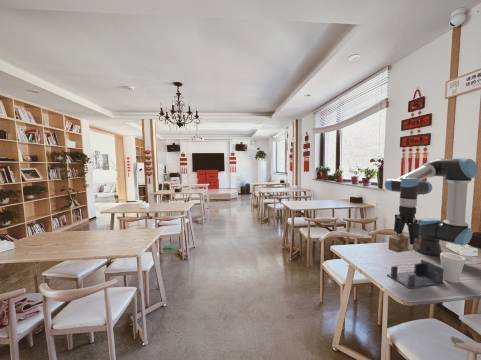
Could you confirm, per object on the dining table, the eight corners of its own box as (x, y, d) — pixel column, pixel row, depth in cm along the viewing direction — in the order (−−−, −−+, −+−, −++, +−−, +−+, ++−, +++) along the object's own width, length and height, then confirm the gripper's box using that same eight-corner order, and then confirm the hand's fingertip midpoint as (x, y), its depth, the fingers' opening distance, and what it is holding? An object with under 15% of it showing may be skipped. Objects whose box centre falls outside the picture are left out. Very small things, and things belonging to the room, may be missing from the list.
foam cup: (465, 286, 112) (467, 261, 111) (441, 281, 117) (442, 257, 116) (459, 278, 120) (461, 254, 119) (437, 273, 125) (438, 251, 124)
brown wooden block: (411, 245, 129) (411, 233, 128) (420, 248, 124) (421, 236, 123) (388, 249, 123) (389, 236, 122) (397, 252, 118) (398, 239, 117)
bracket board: (419, 271, 127) (420, 258, 126) (444, 283, 114) (446, 269, 114) (387, 275, 122) (387, 262, 122) (409, 288, 110) (410, 273, 109)
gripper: (387, 203, 130) (385, 241, 132) (418, 209, 112) (414, 254, 113) (398, 202, 131) (396, 241, 133) (430, 209, 113) (427, 253, 115)
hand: (404, 247), depth 123 cm, fingers closed on brown wooden block, 5 cm apart
